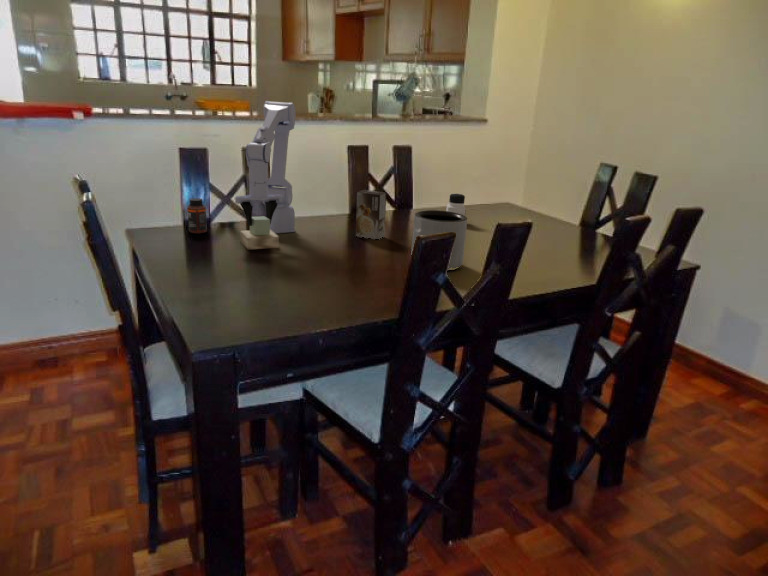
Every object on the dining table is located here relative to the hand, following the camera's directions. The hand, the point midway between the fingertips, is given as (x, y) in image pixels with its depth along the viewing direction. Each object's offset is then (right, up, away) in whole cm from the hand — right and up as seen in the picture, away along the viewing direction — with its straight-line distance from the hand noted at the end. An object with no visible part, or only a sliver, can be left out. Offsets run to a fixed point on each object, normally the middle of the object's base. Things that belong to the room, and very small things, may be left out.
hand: (259, 224), depth 181 cm
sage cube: (0, -3, +1) cm, 3 cm away
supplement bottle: (-24, -1, +12) cm, 27 cm away
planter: (+56, -14, -8) cm, 58 cm away
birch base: (0, -7, +2) cm, 7 cm away
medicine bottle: (+69, +6, +50) cm, 85 cm away
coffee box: (+35, -2, +20) cm, 41 cm away
